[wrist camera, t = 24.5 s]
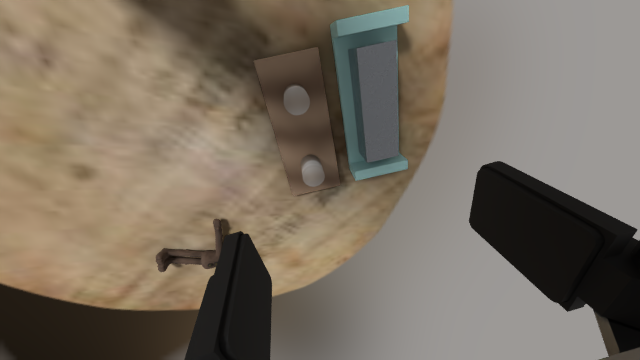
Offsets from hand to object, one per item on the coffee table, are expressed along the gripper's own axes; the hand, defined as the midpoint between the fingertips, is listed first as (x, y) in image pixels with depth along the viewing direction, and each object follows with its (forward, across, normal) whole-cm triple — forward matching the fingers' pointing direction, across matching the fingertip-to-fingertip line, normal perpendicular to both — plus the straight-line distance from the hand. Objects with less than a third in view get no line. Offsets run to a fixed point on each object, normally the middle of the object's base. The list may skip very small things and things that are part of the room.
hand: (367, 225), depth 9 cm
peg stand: (+26, +1, +4) cm, 26 cm away
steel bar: (+25, -9, +2) cm, 26 cm away
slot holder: (+26, -9, +2) cm, 27 cm away
